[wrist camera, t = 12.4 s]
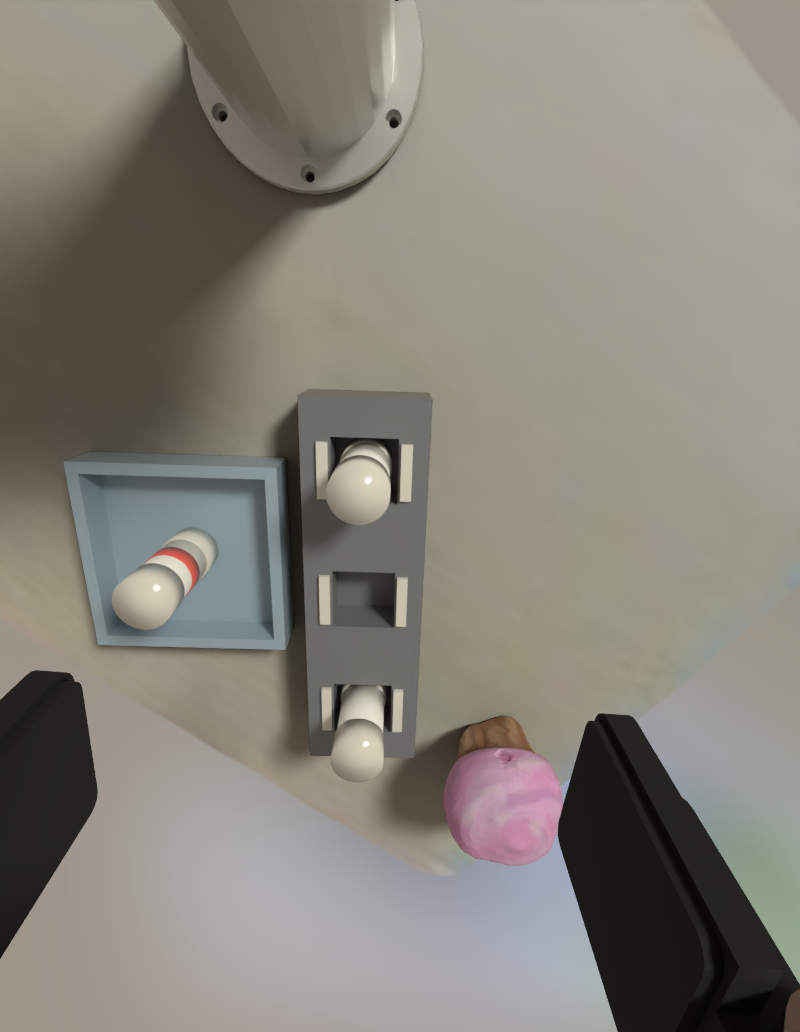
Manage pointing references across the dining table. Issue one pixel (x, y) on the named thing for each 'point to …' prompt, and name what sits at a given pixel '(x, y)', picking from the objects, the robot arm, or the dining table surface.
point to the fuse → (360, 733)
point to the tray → (170, 508)
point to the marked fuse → (164, 579)
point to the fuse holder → (364, 562)
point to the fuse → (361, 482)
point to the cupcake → (502, 795)
